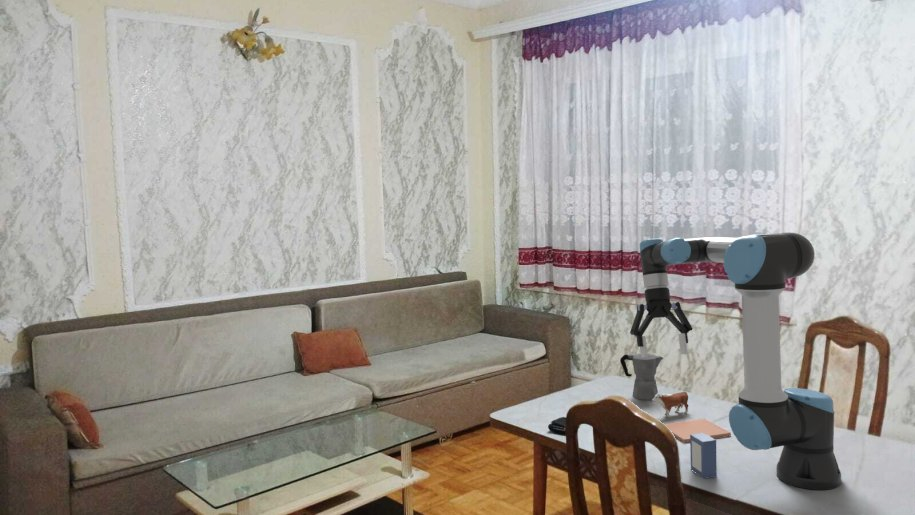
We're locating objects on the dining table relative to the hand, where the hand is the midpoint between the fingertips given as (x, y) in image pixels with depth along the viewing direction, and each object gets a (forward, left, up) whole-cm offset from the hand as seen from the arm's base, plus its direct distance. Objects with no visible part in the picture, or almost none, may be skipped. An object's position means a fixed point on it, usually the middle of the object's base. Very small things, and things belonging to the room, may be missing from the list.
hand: (664, 356), depth 216 cm
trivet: (-2, -9, -25) cm, 26 cm away
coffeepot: (+37, -12, -25) cm, 46 cm away
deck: (-30, +6, -25) cm, 39 cm away
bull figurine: (+15, -11, -25) cm, 31 cm away
